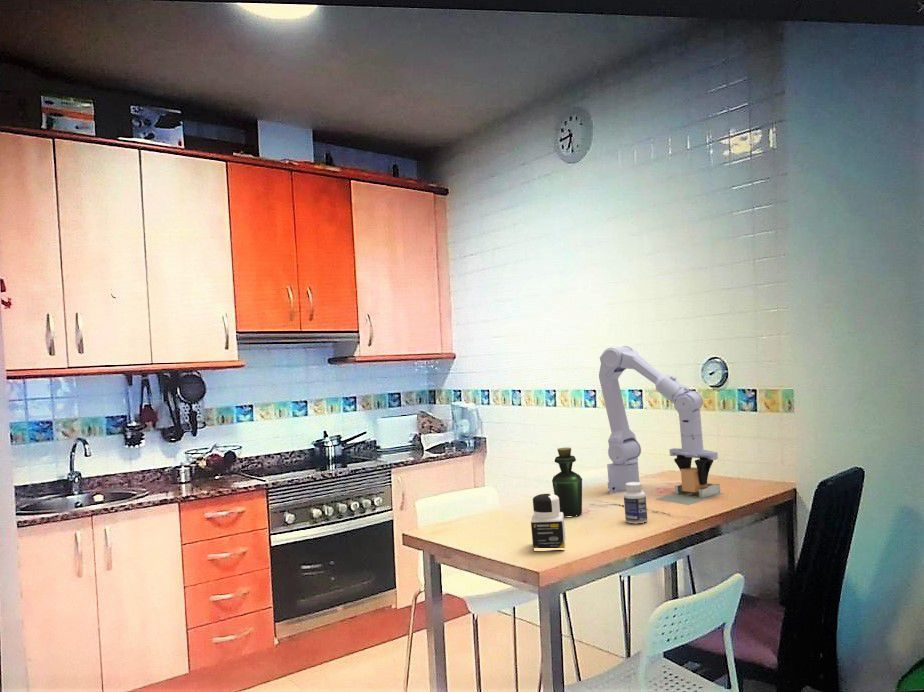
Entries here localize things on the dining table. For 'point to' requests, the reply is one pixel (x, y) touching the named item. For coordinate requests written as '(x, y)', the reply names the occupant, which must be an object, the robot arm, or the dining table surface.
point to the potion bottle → (567, 484)
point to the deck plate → (684, 499)
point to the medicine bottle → (547, 522)
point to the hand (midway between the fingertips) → (695, 483)
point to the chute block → (691, 480)
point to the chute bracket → (702, 492)
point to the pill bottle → (635, 503)
